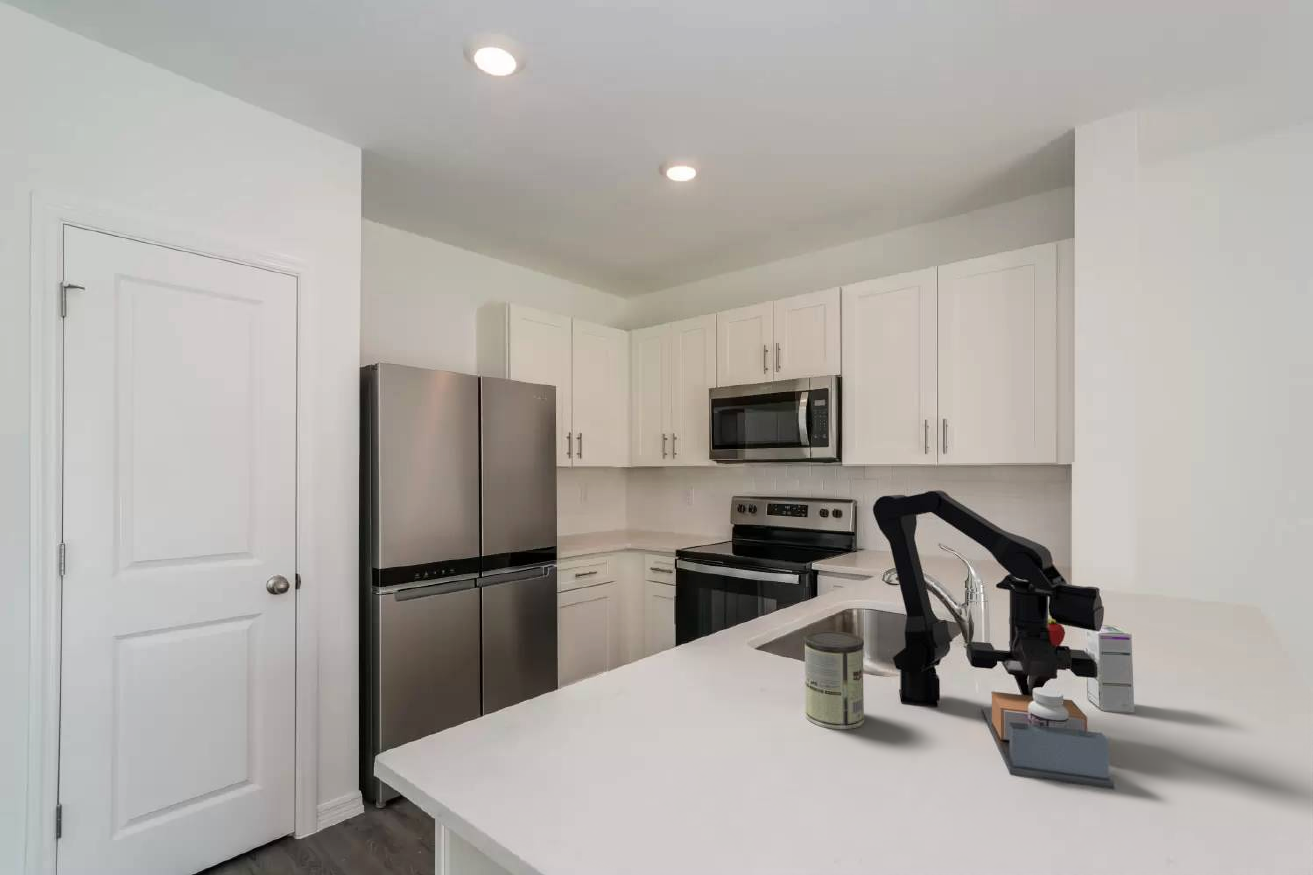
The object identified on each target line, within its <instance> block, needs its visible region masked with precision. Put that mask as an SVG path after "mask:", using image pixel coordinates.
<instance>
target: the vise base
mask: <svg viewBox="0 0 1313 875" xmlns="http://www.w3.org/2000/svg"><path fill="white" fill-rule="evenodd" d="M980 708H981V709H980V710H981V711H980V712H981V715H982V717H983V719H984V721H985V723H986V726H987V728H988V731H989V732H990V734H991V736H992V739H993V740H994V743H995V744H996V747H997V749H998V752H999V753H1000V756H1001V757H1002V759H1003V760H1002V761H1004V763H1005V767H1006V769H1007V770H1008V772H1009V775H1012V776H1018V777H1025V778H1033V779H1040V780H1045V781H1046V780H1048V781H1052V782H1053V781H1054V782H1061V783H1067V784H1076V785H1083V786H1089V787H1095V788H1103V789H1109V790H1110V789H1111V790H1115V781H1114V780H1113V778H1112V777H1111V776H1110V774H1109V739H1108V738H1107V737H1106V736H1105V735H1104V734H1103V733H1102V732H1099V731H1098V732H1097V731H1090V730H1089V731H1088V730H1087V731H1081V730H1073V729H1064V728H1056V727H1047V726H1039V725H1030V724H1022V723H1013V722H1009V740H1003V739H1001V738H1000V736H999V734H998V732H997V730H996V728H995V726H994V724H993V722H992V707H984V706H983V707H982V706H981V707H980Z"/></svg>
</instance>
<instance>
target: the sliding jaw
mask: <svg viewBox="0 0 1313 875" xmlns="http://www.w3.org/2000/svg"><path fill="white" fill-rule="evenodd" d="M1032 701H1034V699H1033V696H1029V695H1021V693H1020V694H1019V693H1010V692H1009V693H1007V692H1000V691H999V692H998V691H991V708H992V722H993V724H994V726H995V728H996V730H997V732H998V734H999V736H1000V738H1001V739H1003V740H1009V722H1013V723H1022V724H1028V705H1029V704H1030V702H1032ZM1062 706H1063V707H1064V708H1065V709H1066V710H1067V711H1068V715H1069V729H1073V730H1081V731H1088V717H1087V716H1086V714H1085V713H1084V712H1083V711H1082V709H1080V708H1079V706H1078V705H1077V704H1076V703H1075V702H1074V701H1073V699H1068V698H1067V699H1065V698H1063V704H1062Z"/></svg>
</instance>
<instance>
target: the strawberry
mask: <svg viewBox="0 0 1313 875" xmlns="http://www.w3.org/2000/svg"><path fill="white" fill-rule="evenodd" d="M1048 615H1050V614H1049V612H1048ZM1048 629H1049V630H1050V640H1051V642H1052V645H1058V646H1061V644H1062V642H1063V641H1064V639H1065V635H1066V631H1065V628H1064V627H1063V625H1061V624H1057V622H1056V620H1054V619H1052V617H1050V618H1048Z"/></svg>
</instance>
